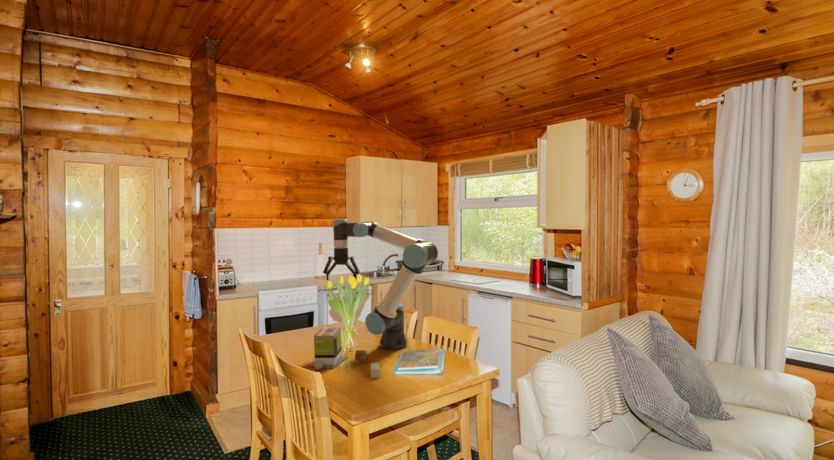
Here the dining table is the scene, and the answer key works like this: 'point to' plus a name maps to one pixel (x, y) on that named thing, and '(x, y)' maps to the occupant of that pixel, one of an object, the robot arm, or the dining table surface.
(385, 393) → the dining table surface
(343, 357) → the slate trivet
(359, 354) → the walnut cube
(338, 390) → the dining table surface
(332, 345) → the tea box
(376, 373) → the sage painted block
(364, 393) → the dining table surface
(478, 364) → the dining table surface
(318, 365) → the grey rubber ball
